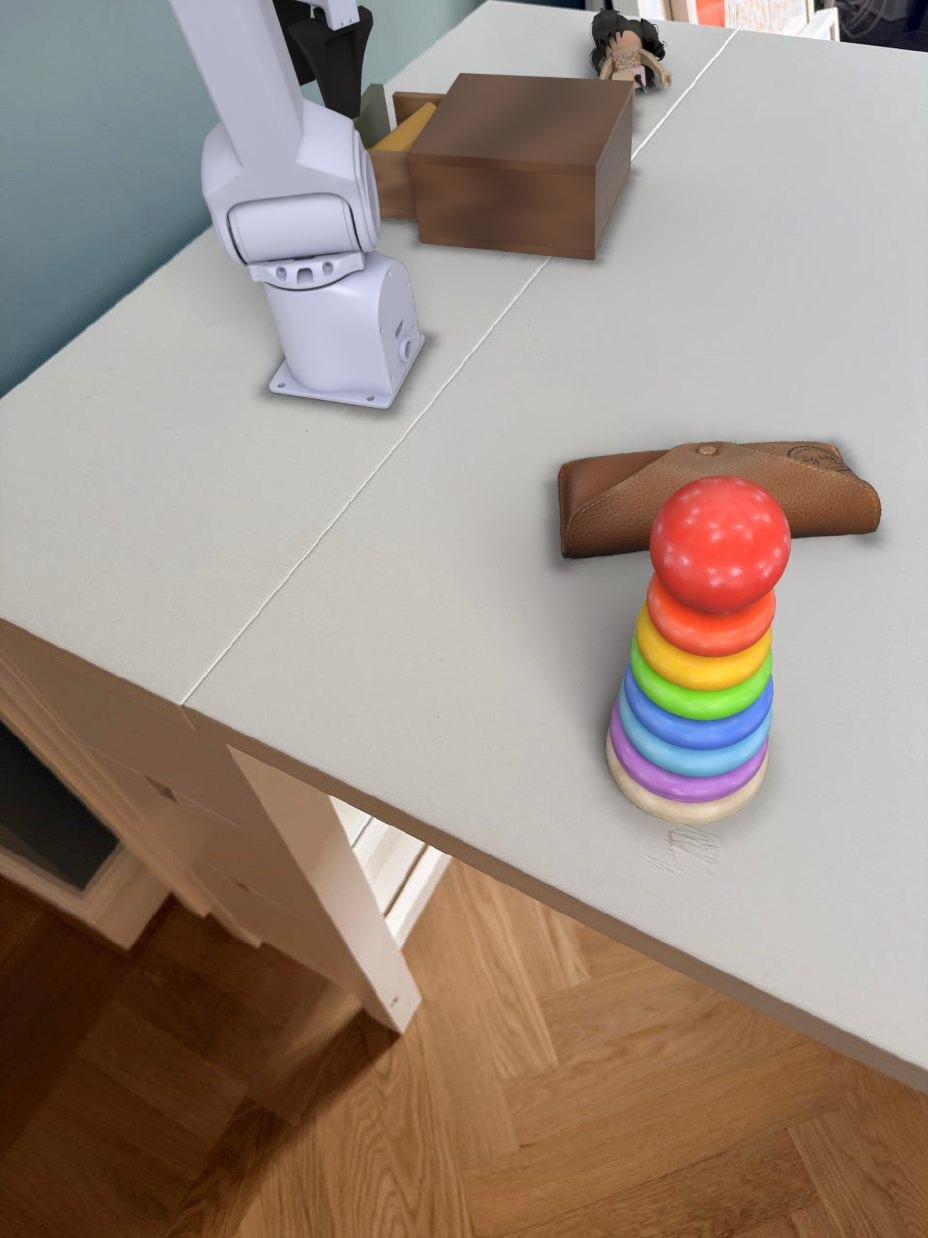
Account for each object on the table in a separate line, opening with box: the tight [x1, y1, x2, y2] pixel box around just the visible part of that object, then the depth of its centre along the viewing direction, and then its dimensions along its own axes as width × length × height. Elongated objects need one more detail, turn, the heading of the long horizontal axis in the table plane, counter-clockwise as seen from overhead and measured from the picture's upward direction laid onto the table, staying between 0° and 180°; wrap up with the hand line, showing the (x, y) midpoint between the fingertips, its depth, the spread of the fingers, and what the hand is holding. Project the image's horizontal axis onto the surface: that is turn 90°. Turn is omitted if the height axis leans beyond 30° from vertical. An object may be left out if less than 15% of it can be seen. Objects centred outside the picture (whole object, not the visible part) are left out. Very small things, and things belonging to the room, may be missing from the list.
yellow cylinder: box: [370, 102, 437, 152], centre depth 78 cm, size 3×6×3 cm
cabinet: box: [407, 72, 635, 261], centre depth 75 cm, size 15×13×8 cm
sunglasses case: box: [557, 440, 883, 560], centre depth 55 cm, size 18×7×7 cm
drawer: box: [352, 82, 446, 221], centre depth 78 cm, size 18×11×6 cm, turn 71°
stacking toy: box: [605, 476, 792, 825], centre depth 40 cm, size 8×8×19 cm
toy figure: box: [588, 7, 673, 130], centre depth 85 cm, size 7×6×15 cm
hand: (323, 100), depth 71 cm, fingers open, 7 cm apart
